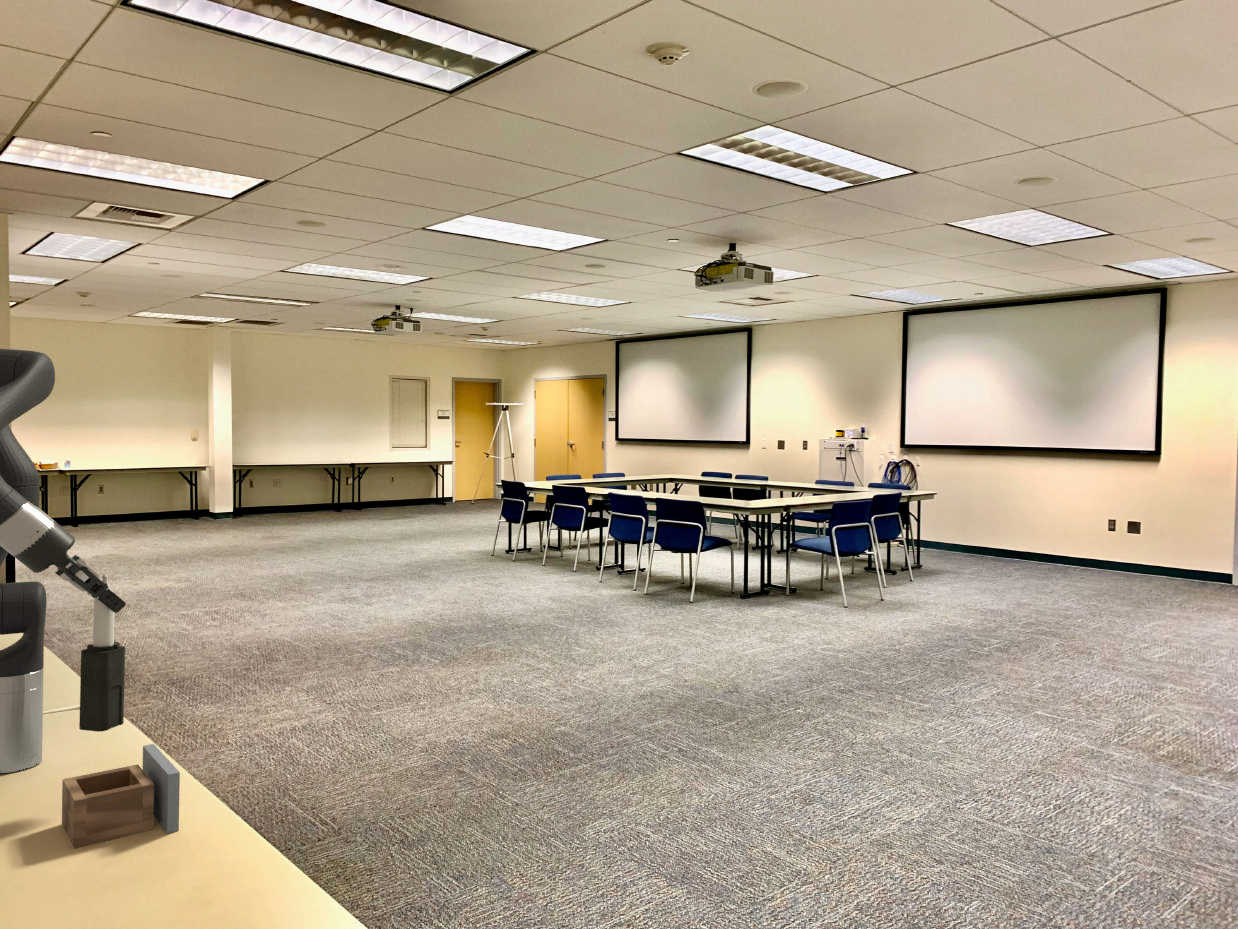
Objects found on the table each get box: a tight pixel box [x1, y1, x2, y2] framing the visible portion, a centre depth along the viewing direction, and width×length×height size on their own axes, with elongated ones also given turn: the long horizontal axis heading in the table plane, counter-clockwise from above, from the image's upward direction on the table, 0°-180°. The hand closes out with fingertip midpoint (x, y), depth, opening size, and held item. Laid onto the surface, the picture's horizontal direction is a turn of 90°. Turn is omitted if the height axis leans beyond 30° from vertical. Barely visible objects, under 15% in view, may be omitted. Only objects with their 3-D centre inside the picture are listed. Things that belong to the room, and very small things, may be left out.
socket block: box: [61, 764, 154, 849], centre depth 132 cm, size 10×10×7 cm
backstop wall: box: [142, 743, 181, 834], centre depth 137 cm, size 16×2×9 cm, turn 41°
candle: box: [78, 574, 126, 733], centre depth 141 cm, size 5×5×25 cm
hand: (118, 606), depth 142 cm, fingers closed on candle, 3 cm apart
